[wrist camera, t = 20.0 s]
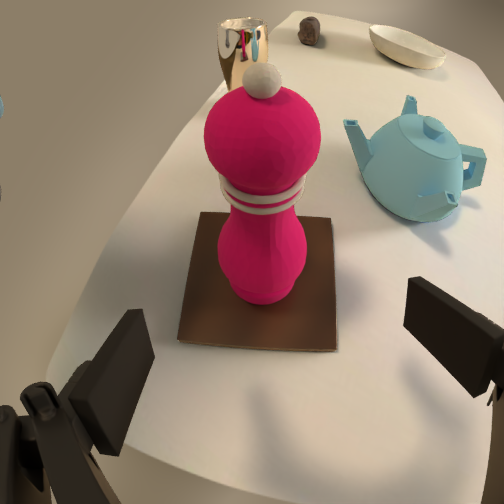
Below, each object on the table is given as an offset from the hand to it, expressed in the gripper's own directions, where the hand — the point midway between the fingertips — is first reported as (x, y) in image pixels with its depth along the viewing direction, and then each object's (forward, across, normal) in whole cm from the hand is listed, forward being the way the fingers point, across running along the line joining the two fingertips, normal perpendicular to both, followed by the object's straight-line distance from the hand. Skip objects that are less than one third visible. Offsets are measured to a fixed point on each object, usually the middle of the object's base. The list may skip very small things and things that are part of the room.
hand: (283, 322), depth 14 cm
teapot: (+23, +20, +4) cm, 31 cm away
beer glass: (+36, +1, +17) cm, 40 cm away
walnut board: (+15, 0, -3) cm, 16 cm away
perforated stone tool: (+61, +21, +42) cm, 77 cm away
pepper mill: (+15, 0, -3) cm, 15 cm away
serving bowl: (+55, +45, +36) cm, 80 cm away
